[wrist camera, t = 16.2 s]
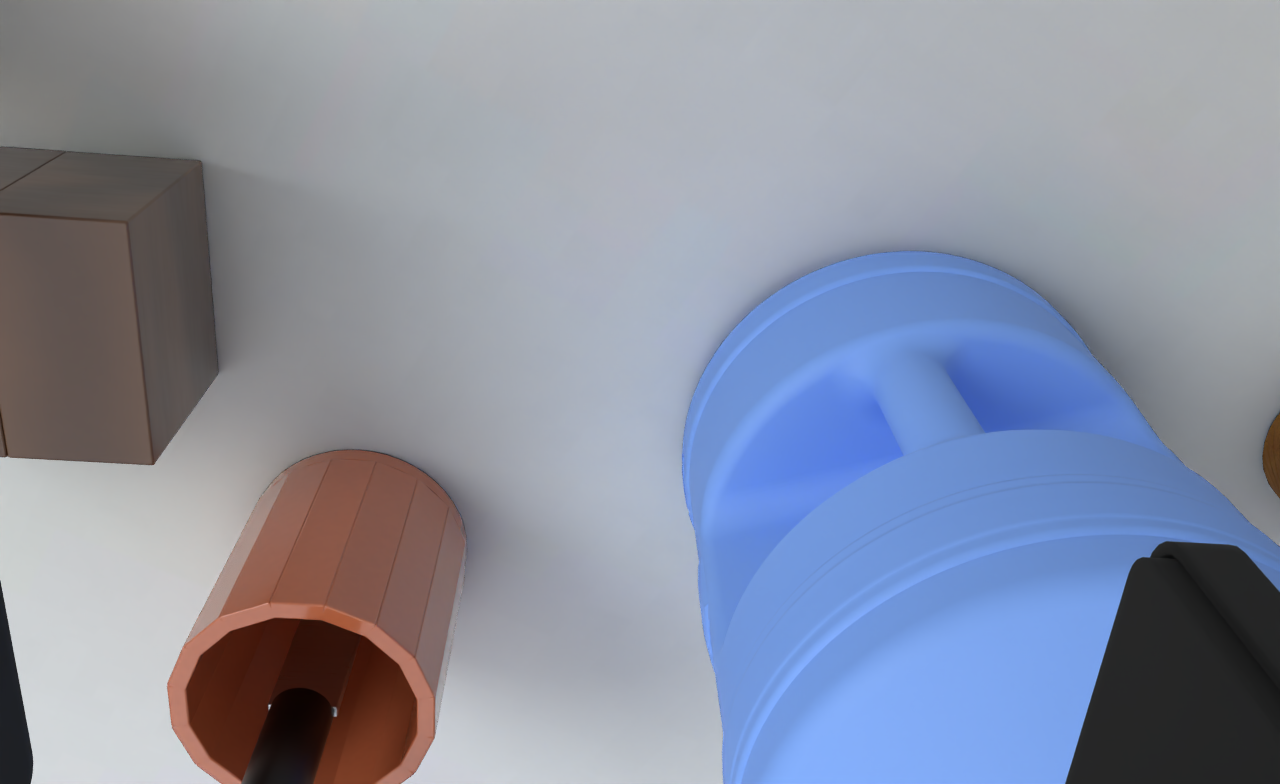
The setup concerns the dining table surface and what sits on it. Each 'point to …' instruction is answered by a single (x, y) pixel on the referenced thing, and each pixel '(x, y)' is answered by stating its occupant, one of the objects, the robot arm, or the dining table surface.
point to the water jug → (921, 526)
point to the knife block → (101, 304)
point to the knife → (303, 705)
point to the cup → (330, 616)
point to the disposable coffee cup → (1273, 456)
